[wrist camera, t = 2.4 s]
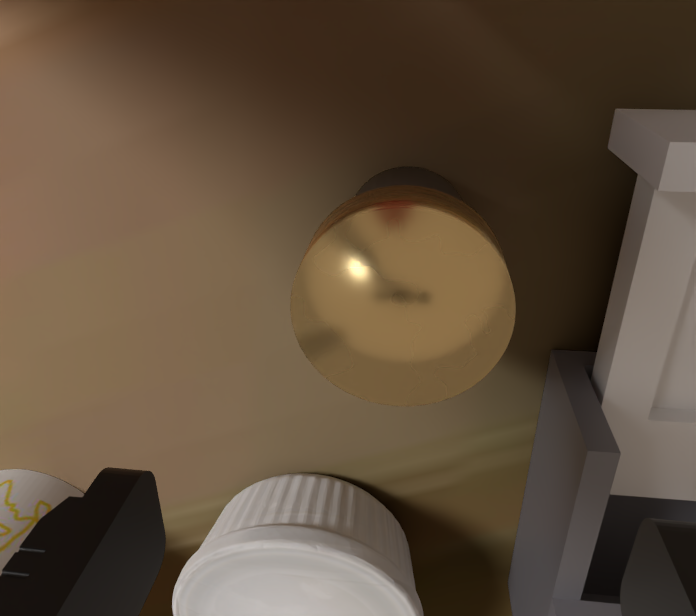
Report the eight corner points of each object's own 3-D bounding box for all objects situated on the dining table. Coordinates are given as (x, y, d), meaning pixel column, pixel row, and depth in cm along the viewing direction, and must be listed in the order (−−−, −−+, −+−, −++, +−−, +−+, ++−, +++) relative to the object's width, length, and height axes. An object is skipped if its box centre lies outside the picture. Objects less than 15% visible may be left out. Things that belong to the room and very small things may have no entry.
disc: (299, 181, 17) (284, 204, 15) (519, 188, 16) (530, 212, 14) (306, 362, 19) (295, 399, 18) (493, 373, 19) (501, 413, 17)
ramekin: (211, 591, 34) (178, 686, 29) (201, 438, 28) (158, 525, 24) (410, 619, 33) (408, 722, 28) (437, 467, 28) (440, 564, 23)
